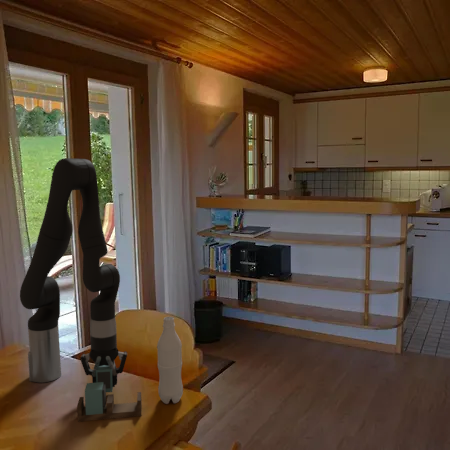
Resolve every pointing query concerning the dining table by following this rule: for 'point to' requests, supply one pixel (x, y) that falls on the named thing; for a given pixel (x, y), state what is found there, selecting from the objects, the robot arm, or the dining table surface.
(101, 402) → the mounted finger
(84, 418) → the rail
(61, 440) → the dining table surface
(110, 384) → the teal block
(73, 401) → the dining table surface
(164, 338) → the water bottle
